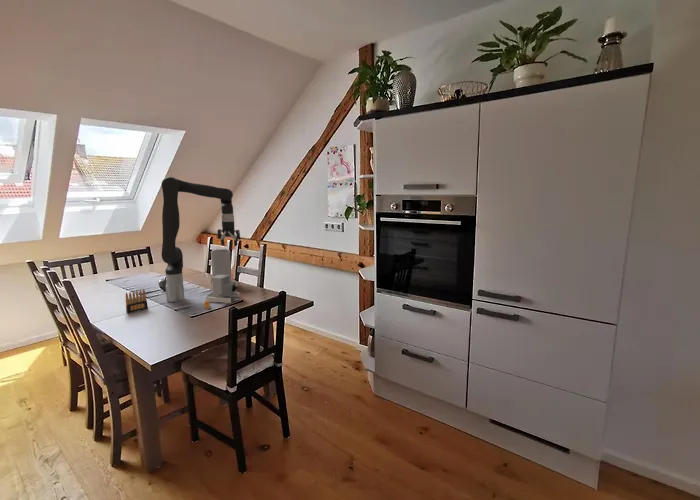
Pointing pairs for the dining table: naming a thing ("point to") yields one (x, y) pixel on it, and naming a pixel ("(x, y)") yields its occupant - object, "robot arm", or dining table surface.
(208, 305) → the orange wire nut
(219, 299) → the panel slot
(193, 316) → the dining table surface
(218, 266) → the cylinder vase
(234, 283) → the circuit breaker
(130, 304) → the ammunition clip
